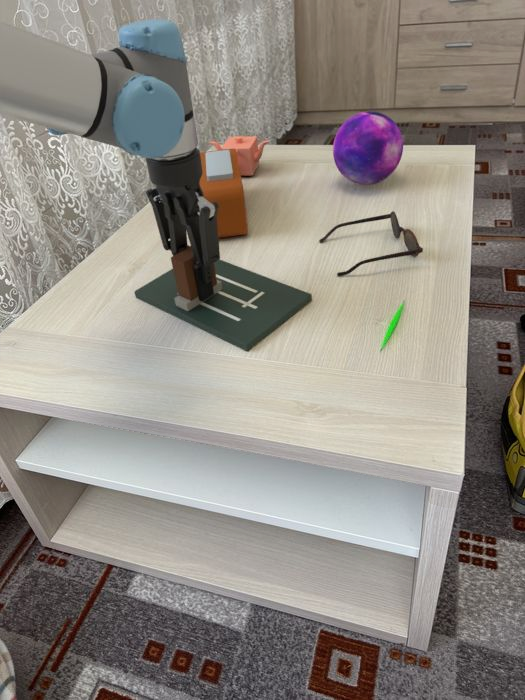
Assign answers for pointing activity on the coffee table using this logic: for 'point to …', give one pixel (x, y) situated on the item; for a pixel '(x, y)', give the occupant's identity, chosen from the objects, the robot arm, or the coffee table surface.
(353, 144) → the decorative orb
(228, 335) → the chalkboard
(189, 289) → the eraser
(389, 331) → the leaf
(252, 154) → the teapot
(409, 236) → the eyeglasses
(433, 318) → the coffee table surface
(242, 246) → the coffee table surface
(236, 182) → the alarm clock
